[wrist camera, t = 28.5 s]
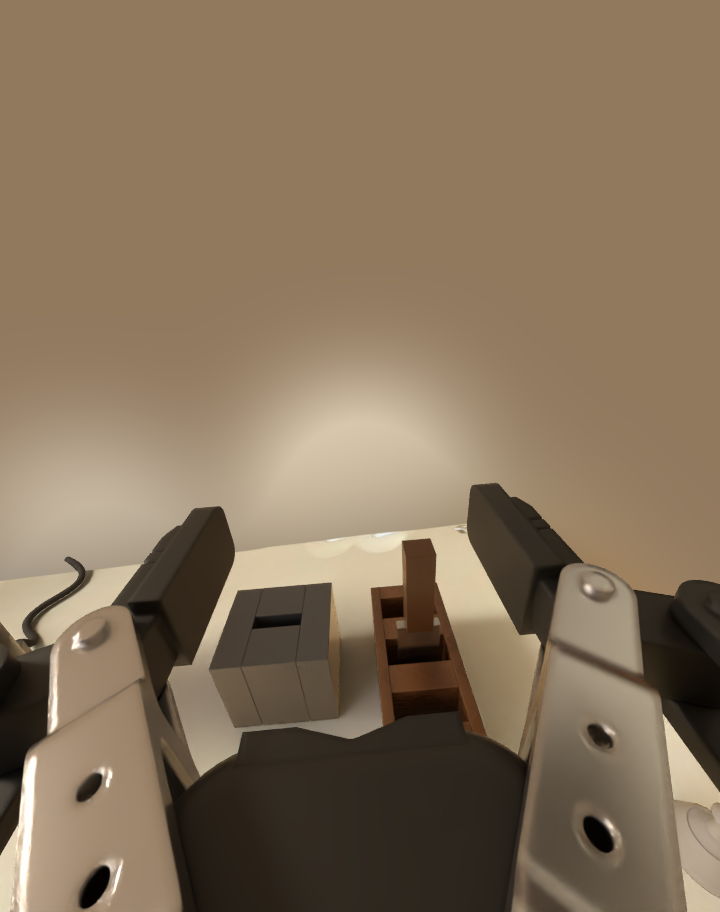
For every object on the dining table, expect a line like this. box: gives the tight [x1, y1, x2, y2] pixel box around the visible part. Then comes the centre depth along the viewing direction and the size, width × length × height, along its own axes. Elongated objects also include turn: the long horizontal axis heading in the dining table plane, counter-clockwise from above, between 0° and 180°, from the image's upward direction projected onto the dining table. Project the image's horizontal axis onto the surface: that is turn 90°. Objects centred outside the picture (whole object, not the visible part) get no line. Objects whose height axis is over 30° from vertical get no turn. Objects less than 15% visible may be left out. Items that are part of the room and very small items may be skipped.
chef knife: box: [396, 539, 440, 665], centre depth 31 cm, size 4×2×21 cm, turn 92°
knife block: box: [209, 583, 340, 728], centre depth 36 cm, size 11×9×10 cm
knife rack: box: [371, 583, 487, 737], centre depth 34 cm, size 8×16×8 cm, turn 2°
